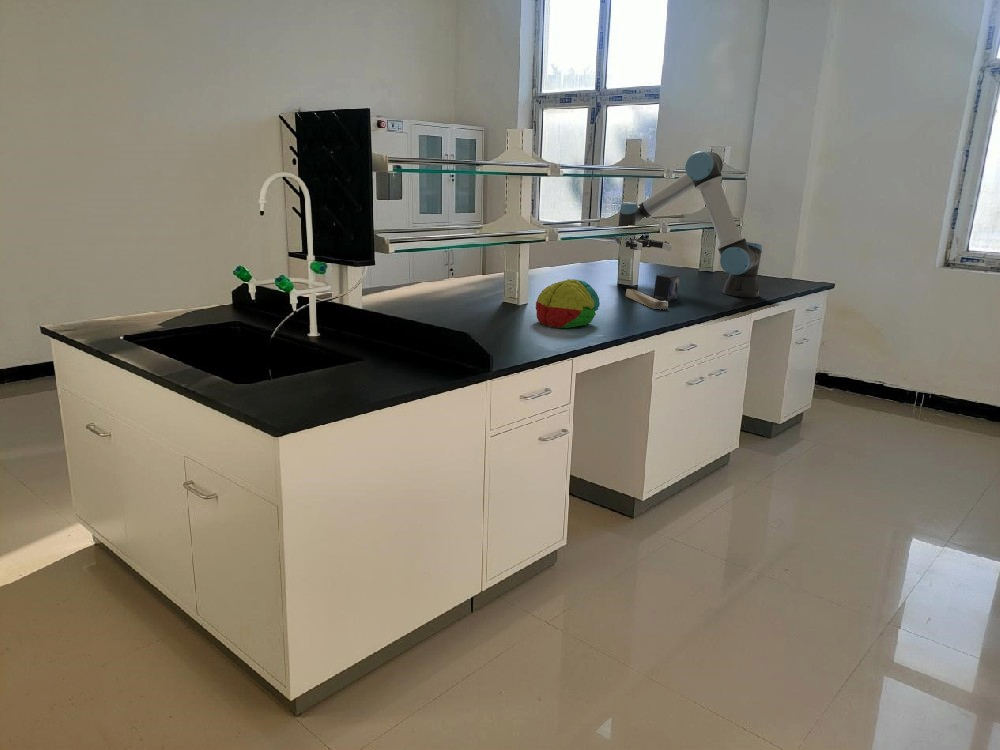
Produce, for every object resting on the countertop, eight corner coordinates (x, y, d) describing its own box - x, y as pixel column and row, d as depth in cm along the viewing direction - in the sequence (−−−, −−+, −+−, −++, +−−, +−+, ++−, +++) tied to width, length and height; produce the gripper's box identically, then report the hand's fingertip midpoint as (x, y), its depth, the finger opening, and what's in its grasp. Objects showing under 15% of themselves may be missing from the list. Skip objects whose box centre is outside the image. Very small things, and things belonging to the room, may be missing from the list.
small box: (666, 302, 291) (670, 277, 288) (652, 300, 294) (655, 274, 291) (677, 299, 299) (681, 274, 296) (663, 297, 302) (666, 272, 299)
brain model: (568, 312, 259) (571, 271, 254) (611, 323, 246) (614, 280, 241) (523, 323, 243) (524, 279, 238) (565, 335, 230) (568, 289, 225)
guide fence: (637, 296, 300) (638, 289, 300) (667, 309, 277) (668, 302, 276) (625, 296, 299) (626, 289, 298) (654, 309, 275) (655, 302, 274)
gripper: (658, 249, 326) (681, 257, 306) (607, 247, 319) (627, 255, 299) (660, 233, 323) (684, 239, 304) (609, 230, 317) (630, 237, 297)
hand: (656, 247), depth 302 cm, fingers open, 13 cm apart
